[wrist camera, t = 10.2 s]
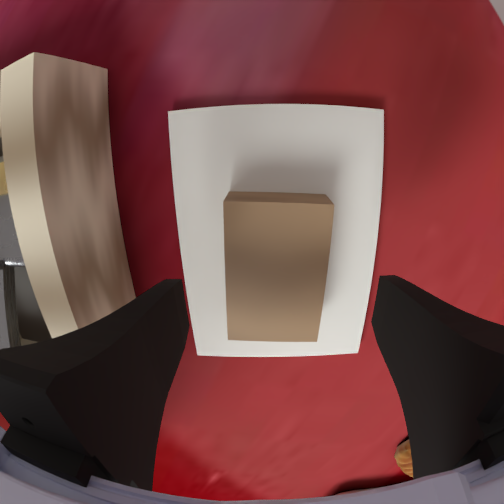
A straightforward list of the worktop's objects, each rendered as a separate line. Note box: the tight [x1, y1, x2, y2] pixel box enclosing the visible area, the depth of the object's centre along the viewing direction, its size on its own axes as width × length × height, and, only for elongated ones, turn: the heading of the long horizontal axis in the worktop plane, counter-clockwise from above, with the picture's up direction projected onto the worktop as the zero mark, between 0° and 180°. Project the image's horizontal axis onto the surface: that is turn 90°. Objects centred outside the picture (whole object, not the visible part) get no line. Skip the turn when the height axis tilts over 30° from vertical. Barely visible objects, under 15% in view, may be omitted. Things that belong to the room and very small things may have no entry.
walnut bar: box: [223, 191, 334, 342], centre depth 14 cm, size 7×4×2 cm, turn 0°
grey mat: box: [168, 104, 384, 357], centre depth 15 cm, size 14×10×1 cm
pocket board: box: [0, 52, 136, 346], centre depth 14 cm, size 20×15×6 cm
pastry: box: [394, 440, 413, 477], centre depth 22 cm, size 9×7×4 cm
